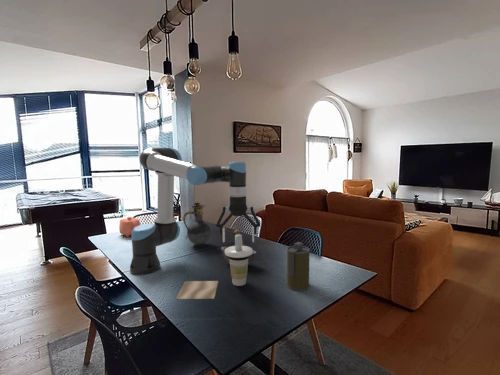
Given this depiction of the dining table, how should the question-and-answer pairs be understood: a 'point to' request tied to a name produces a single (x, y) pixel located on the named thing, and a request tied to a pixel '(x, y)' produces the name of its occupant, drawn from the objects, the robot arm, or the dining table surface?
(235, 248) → the lid
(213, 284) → the mat
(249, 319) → the dining table surface
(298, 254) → the canister
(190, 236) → the pitcher
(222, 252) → the planter
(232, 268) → the coffee cup
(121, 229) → the teapot
